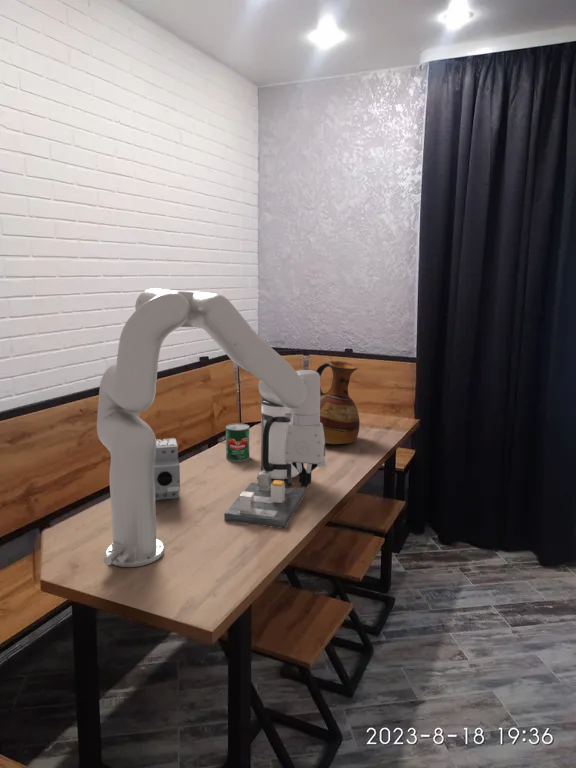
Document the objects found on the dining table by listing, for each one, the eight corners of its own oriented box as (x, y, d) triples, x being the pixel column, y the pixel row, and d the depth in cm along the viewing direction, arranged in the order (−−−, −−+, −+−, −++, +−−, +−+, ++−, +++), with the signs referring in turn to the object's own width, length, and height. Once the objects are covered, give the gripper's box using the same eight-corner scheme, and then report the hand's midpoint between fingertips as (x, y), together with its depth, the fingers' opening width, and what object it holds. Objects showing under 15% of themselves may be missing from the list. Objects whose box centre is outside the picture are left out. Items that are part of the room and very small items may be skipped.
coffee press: (247, 472, 184) (247, 378, 178) (295, 467, 189) (296, 376, 183) (263, 492, 168) (264, 390, 162) (315, 486, 173) (317, 387, 167)
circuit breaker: (152, 509, 156) (150, 455, 153) (150, 489, 169) (148, 439, 166) (181, 506, 158) (179, 453, 155) (176, 487, 171) (175, 437, 168)
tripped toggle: (281, 502, 155) (281, 484, 154) (270, 501, 156) (270, 483, 155) (284, 498, 158) (284, 480, 157) (273, 497, 159) (274, 479, 158)
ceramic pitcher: (348, 452, 204) (351, 368, 198) (296, 444, 213) (297, 363, 207) (366, 438, 222) (369, 360, 216) (317, 430, 230) (319, 355, 224)
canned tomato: (242, 452, 203) (242, 422, 201) (253, 459, 196) (253, 427, 194) (221, 456, 199) (221, 425, 196) (232, 463, 192) (232, 430, 190)
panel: (284, 528, 146) (285, 503, 144) (224, 520, 150) (224, 496, 148) (304, 495, 167) (305, 473, 165) (251, 489, 171) (251, 467, 169)
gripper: (273, 420, 149) (274, 488, 153) (331, 424, 145) (330, 493, 149) (281, 412, 156) (281, 477, 160) (336, 416, 152) (335, 482, 156)
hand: (305, 485), depth 155 cm, fingers closed
